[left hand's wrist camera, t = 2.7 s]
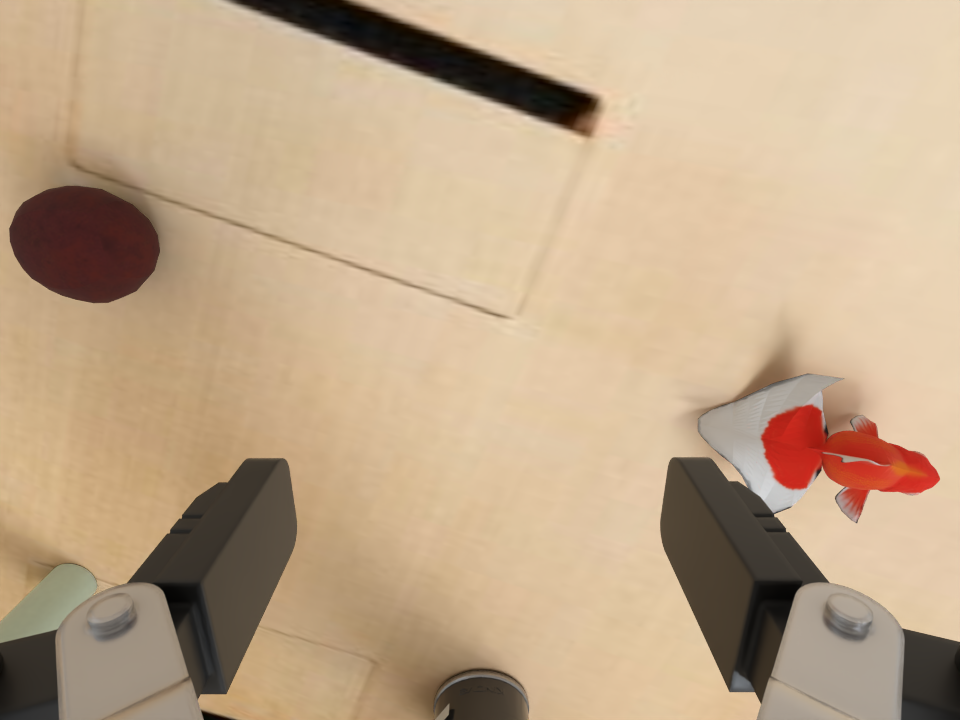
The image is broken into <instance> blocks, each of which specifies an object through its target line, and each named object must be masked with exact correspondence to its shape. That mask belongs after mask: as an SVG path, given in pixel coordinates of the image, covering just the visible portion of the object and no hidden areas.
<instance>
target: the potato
mask: <svg viewBox="0 0 960 720" xmlns="http://www.w3.org/2000/svg"><path fill="white" fill-rule="evenodd" d="M9 230H10V243H11V246H12V249H13V252H14V255H15V257H16V258H17V260H18V262H19V263H20V265H21V266H22V268H23V269H24V270H25V271H26V273H27V274H28V275H29V276H30V277H31V278H32V279H34V280H35V281H37V282H39V283H40V284H42V285H43V286H45V287H46V288H48V289H49V290H51V291H53V292H56V293H58V294H60V295H62V296H65V297H69V298H72V299H76V300H81V301H86V302H91V303H109V302H111V301H114V300H117V299H119V298H122V297H124V296H127V295H129V294H131V293H133V292H135V291H137V290H138V288H139V287H140V286H141V285H142V284H143V283H144V282H145V281H146V279H147V278H148V277H149V276H150V275H151V274H152V273H153V271H154V270H155V266H156V263H157V259H158V256H159V252H160V248H159V242H158V235H157V233H156V231H155V230H154V228H153V226H152V224H151V222H150V221H149V219H148V218H146V217H145V216H144V215H143V214H142V213H141V212H140V211H139V210H138V209H137V208H135V207H134V206H133V205H132V204H130V203H128V202H126V201H124V200H122V199H120V198H118V197H116V196H114V195H112V194H110V193H108V192H106V191H104V190H102V189H97V188H89V187H81V186H64V187H59V188H53V189H48V190H46V191H44V192H42V193H40V194H38V195H36V196H34V197H32V198H30V199H29V200H27V201H25V202H23V204H22V205H21V206H20V207H19V209H18V210H17V211H16V213H15V216H14V219H13V221H12V224H11V226H10V228H9Z"/></svg>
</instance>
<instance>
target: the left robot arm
mask: <svg viewBox="0 0 960 720" xmlns="http://www.w3.org/2000/svg"><path fill="white" fill-rule="evenodd" d="M660 529H661V538H662V543H663V547H664V550H665V552H666V554H667V557H668V559H669V561H670V563H671V565H672V567H673V570H674V572H675V574H676V576H677V578H678V581H679V583H680V585H681V587H682V589H683V591H684V594H685V596H686V598H687V600H688V602H689V604H690V607H691V609H692V611H693V613H694V615H695V618H696V620H697V622H698V624H699V626H700V628H701V631H702V633H703V635H704V637H705V639H706V641H707V644H708V646H709V648H710V650H711V652H712V655H713V657H714V659H715V661H716V663H717V665H718V668H719V670H720V672H721V674H722V676H723V679H724V681H725V683H726V685H727V687H728V689H729V692H755V693H756V695H757V697H758V699H759V701H760V703H761V707H760V710H759V713H758V717H757V720H960V642H957V641H953V640H949V639H945V638H940V637H936V636H932V635H927V634H923V633H919V632H915V631H910V630H906V629H903V628H901V626H900V624H899V623H898V621H897V620H896V619H895V618H894V616H893V615H892V614H891V613H890V612H889V611H888V610H887V609H886V608H884V607H883V606H882V605H880V604H879V603H878V602H876V601H875V600H873V599H871V598H870V597H868V596H866V595H864V594H862V593H860V592H858V591H856V590H853V589H851V588H848V587H845V586H841V585H837V584H832V583H829V582H828V580H827V579H826V578H825V577H824V575H823V574H822V573H821V572H820V570H819V569H818V568H817V567H816V565H815V564H814V563H813V562H812V560H811V559H810V558H809V557H808V555H807V554H806V553H805V552H804V550H803V549H802V548H801V547H800V545H799V544H798V543H797V542H796V541H795V539H794V538H793V537H792V536H791V534H790V533H789V532H786V528H785V527H784V526H783V524H782V523H781V522H780V521H779V519H778V518H777V517H774V513H773V512H772V511H771V509H770V508H769V507H768V506H767V504H766V503H765V502H764V501H763V499H762V498H761V497H760V496H759V495H757V494H756V493H754V492H753V491H751V490H750V489H748V488H747V487H745V486H744V485H742V484H741V483H739V482H738V481H728V480H727V478H726V477H725V476H724V474H723V473H722V472H721V470H720V469H719V468H718V466H717V465H716V464H715V462H714V461H713V460H712V459H711V458H708V457H674V458H672V459H671V460H670V462H669V465H668V470H667V478H666V485H665V492H664V499H663V506H662V513H661V521H660ZM296 534H297V519H296V512H295V505H294V498H293V491H292V484H291V477H290V471H289V466H288V463H287V461H286V460H285V459H283V458H248V459H246V460H245V461H244V462H243V463H242V464H241V466H240V467H239V468H238V470H237V471H236V472H235V474H234V475H233V476H232V478H231V479H230V480H229V482H228V483H217V484H216V485H214V486H213V487H211V488H210V489H209V490H207V491H206V492H204V493H203V494H201V495H200V496H198V497H197V498H196V499H195V500H194V501H193V502H192V504H191V505H190V506H189V507H188V509H187V510H186V511H185V512H184V514H183V515H182V519H179V520H178V521H177V522H176V523H175V525H174V526H173V527H172V528H171V530H170V534H167V535H166V536H165V537H164V538H163V539H162V541H161V542H160V543H159V544H158V546H157V547H156V548H155V549H154V551H153V552H152V553H151V554H150V555H149V557H148V558H147V559H146V560H145V562H144V563H143V564H142V565H141V567H140V568H139V569H138V570H137V572H136V573H135V574H134V575H133V576H132V578H131V579H130V580H129V581H128V583H127V584H123V585H119V586H115V587H112V588H109V589H107V590H104V591H102V592H100V593H98V594H96V595H94V596H92V597H90V598H89V599H87V600H85V601H84V602H82V603H81V604H80V605H78V606H77V607H76V608H74V609H73V610H72V611H71V612H70V613H69V614H68V615H67V616H66V618H65V619H64V620H63V621H62V623H61V624H60V626H59V628H58V629H56V630H53V631H49V632H45V633H41V634H36V635H32V636H28V637H24V638H19V639H15V640H11V641H7V642H2V643H0V720H203V717H202V713H201V710H200V707H199V703H198V698H199V696H200V694H227V691H228V689H229V687H230V685H231V683H232V681H233V679H234V676H235V674H236V672H237V670H238V668H239V666H240V663H241V661H242V659H243V657H244V655H245V653H246V651H247V648H248V646H249V644H250V642H251V640H252V638H253V636H254V633H255V631H256V629H257V627H258V625H259V623H260V620H261V618H262V616H263V614H264V612H265V610H266V608H267V605H268V603H269V601H270V599H271V597H272V595H273V592H274V590H275V588H276V586H277V584H278V582H279V580H280V577H281V575H282V573H283V571H284V569H285V567H286V564H287V562H288V560H289V558H290V556H291V554H292V551H293V549H294V545H295V541H296ZM434 720H529V703H528V697H527V694H526V692H525V690H524V689H523V688H522V686H521V685H520V684H519V683H518V682H516V681H515V680H514V679H512V678H510V677H508V676H506V675H504V674H501V673H497V672H493V671H482V670H480V671H470V672H465V673H462V674H459V675H457V676H454V677H453V678H451V679H449V680H448V681H446V682H445V683H444V684H443V685H442V686H441V687H440V689H439V690H438V692H437V694H436V696H435V700H434Z"/></svg>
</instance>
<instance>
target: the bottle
mask: <svg viewBox="0 0 960 720" xmlns="http://www.w3.org/2000/svg"><path fill="white" fill-rule="evenodd" d="M96 589H97V582H96V579H95V578H94V576H93V575H92V574H91V573H90V572H89V571H88V570H87V569H85V568H83V567H81V566H79V565H75V564H61V565H59V566H57V567H55V568H54V569H53V570H52V571H51V572H50V573H49V574H48V575H47V576H46V577H45V578H44V579H43V580H42V581H41V582H40V583H39V584H38V585H37V586H36V587H35V588H34V589H33V590H32V591H31V592H30V593H29V594H28V595H27V596H26V597H25V598H24V599H23V600H22V601H21V602H20V603H19V604H18V605H17V606H16V607H15V608H14V609H13V610H12V611H11V612H10V613H8V614H7V615H6V616H5V617H4V618H3V619H2V620H1V621H0V643H2V642H7V641H11V640H15V639H19V638H24V637H28V636H32V635H36V634H41V633H45V632H49V631H53V630H56V629H58V628H59V626H60V624H61V623H62V621H63V620H64V619H65V618H66V616H67V615H68V614H69V613H70V612H71V611H72V610H73V609H74V608H76V607H77V606H78V605H80V604H81V603H82V602H84V601H85V600H87V599H89V598H90V597H92V595H93V594H94V593H95V591H96Z"/></svg>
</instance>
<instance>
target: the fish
mask: <svg viewBox="0 0 960 720" xmlns="http://www.w3.org/2000/svg"><path fill="white" fill-rule="evenodd" d="M840 380H843V378H836V377H829V376H822V375H815V374H805V375H801V376H797V377H794V378H790V379H787V380H783V381H780V382H776V383H773V384H771V385H769V386H766V387H764V388H762V389H760V390H758V391H756V392H754V393H752V394H750V395H748V396H746V397H743V398H741V399H739V400H737V401H735V402H733V403H729V404H726V405H722V406H720V407H717V408H715V409H712V410H710V411H708V412H707V413H705V414H703V415H702V416H701V417H700V418H699V419H698V432H699V433H700V435H701V436H702V437H703V439H704V440H705V441H706V442H707V443H708V444H709V445H710V446H711V447H712V448H713V449H714V450H715V451H717V452H718V453H719V454H720V455H721V456H722V457H724V458H725V459H726V460H727V461H729V462H730V463H731V464H732V465H733V466H734V467H735V468H736V469H737V471H738V472H739V473H740V474H741V475H742V477H743V479H744V481H745V483H746V485H747V487H748V489H750V490H751V491H753V492H754V493H756V494H757V495H759V496H760V497H761V498H762V499H763V501H764V502H765V503H766V504H767V506H768V507H769V508H770V509H771V511H772V512H773V513H774V514H776V513H778V512H781V511H783V510H786V509H788V508H791V507H792V506H793V505H794V504H795V503H796V502H797V501H798V500H799V499H800V498H801V497H802V496H803V495H804V493H805V492H806V491H807V490H808V488H809V487H810V486H811V484H812V483H813V481H814V480H815V479H816V477H817V476H818V474H819V473H820V472H821V468H822V466H823V469H824V471H825V473H826V475H827V476H828V477H829V478H830V479H831V480H833V481H834V482H836V483H838V484H840V485H842V486H845V488H843V489H842V490H841V491H840V492H839V493H838V494H837V495H836V497H835V499H836V502H837V504H838V506H839V507H840V509H841V511H842V512H843V513H844V514H845V515H846V516H848V517H849V518H850V519H851V520H852V521H854V522H856V523H857V521H858V519H859V517H860V515H861V512H862V510H863V506H864V504H865V501H866V499H867V496H868V493H869V491H870V490H879V491H882V492H901V493H905V494H907V495H918V494H920V493H921V492H923V491H924V490H927V489H929V488H932V487H933V486H934V485H936V483H937V482H938V481H939V480H940V477H939V475H938V473H937V471H936V469H935V468H934V467H933V466H932V465H931V464H930V462H929V461H928V459H927V458H926V456H925V455H923V454H922V453H920V452H916V451H908V450H906V449H904V448H903V447H900V446H898V445H894V444H891V443H887V442H885V441H883V440H881V439H879V438H878V431H877V426H876V424H875V423H873V422H871V421H870V420H869V419H867V418H866V417H865V416H863V415H859V416H856V417H854V418H853V419H852V420H851V421H850V423H851V425H852V427H853V429H854V431H841V432H838V433H835V434H833V435H832V436H830V437H829V438H828V439H827V436H828V430H827V426H826V421H825V417H824V413H823V397H822V390H823V389H825V388H826V387H828V386H829V385H831V384H833V383H835V382H837V381H840ZM826 439H827V440H826Z"/></svg>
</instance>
